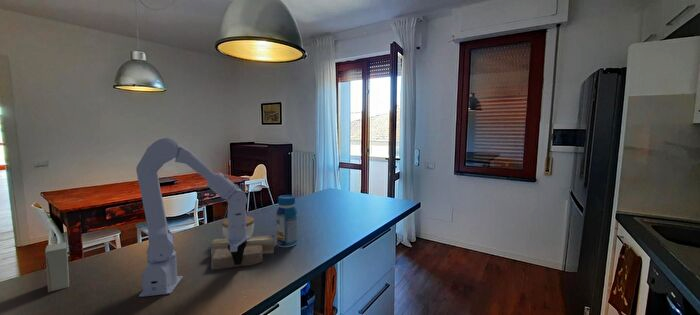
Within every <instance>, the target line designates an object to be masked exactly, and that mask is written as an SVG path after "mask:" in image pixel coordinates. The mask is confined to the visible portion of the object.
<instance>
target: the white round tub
mask: <svg viewBox="0 0 700 315" xmlns="http://www.w3.org/2000/svg"><path fill="white" fill-rule="evenodd" d="M221 226H222V227H221V228H222V234H223V237H224V239H227V238H228V217H227V218H226V219H223V220H222V221H221ZM254 229H255V218H254V217H252V216H248V215H246V233H247V236H250V237H252V236H253V234H254Z"/></svg>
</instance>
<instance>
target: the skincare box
mask: <svg viewBox="0 0 700 315" xmlns="http://www.w3.org/2000/svg"><path fill="white" fill-rule="evenodd" d="M68 252H69V251H68V242H67V241H64V242H59V243H58V242H57V243H54V244H47V245H46V247H45V265H46V267H45V268H46V283H47V293H51V292H55V291H58V290H62V289H66V288H69V287H70V273H69V270H70V269H69V254H68Z"/></svg>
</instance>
